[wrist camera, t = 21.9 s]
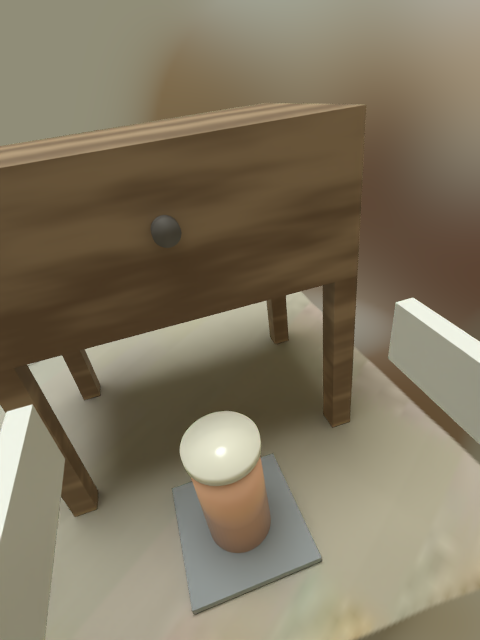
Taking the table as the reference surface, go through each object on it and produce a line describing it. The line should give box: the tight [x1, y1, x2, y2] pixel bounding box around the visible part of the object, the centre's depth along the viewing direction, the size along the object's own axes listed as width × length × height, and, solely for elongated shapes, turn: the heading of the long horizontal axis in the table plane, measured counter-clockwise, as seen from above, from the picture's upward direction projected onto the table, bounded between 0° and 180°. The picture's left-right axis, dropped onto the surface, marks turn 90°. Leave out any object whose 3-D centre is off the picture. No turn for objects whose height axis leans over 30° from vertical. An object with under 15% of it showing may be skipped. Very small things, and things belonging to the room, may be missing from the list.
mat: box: [172, 453, 322, 614], centre depth 31 cm, size 10×10×1 cm
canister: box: [180, 411, 271, 553], centre depth 28 cm, size 6×6×10 cm
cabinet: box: [0, 103, 366, 517], centre depth 36 cm, size 19×28×29 cm
